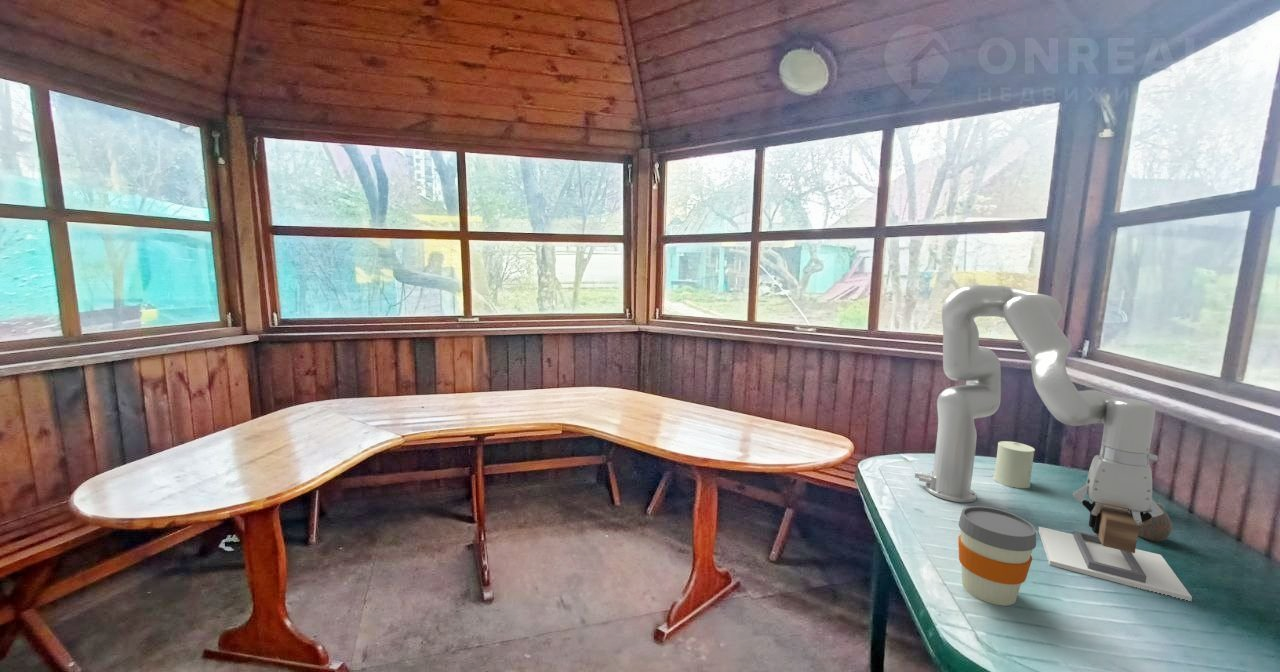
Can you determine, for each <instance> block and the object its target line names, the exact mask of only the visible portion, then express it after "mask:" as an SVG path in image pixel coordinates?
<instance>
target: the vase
mask: <svg viewBox="0 0 1280 672" xmlns="http://www.w3.org/2000/svg"><path fill="white" fill-rule="evenodd" d="M1156 503H1157V505H1158V506H1159V507H1160V508H1161V510H1162V511H1163V512H1164V513H1163V514H1162V515H1159V516H1156V517H1152V518H1151V519H1149V520H1146V521H1144V522H1142V524H1140V525H1139V530H1138V536H1139V537H1141V538H1142V539H1144V538H1145V540H1147V541H1151V542H1156V541H1157V542H1156V543H1158V542H1163V541H1165V540H1167V539H1168V538H1169V536H1170V535H1171V533H1172V531H1173V522H1172V520H1171V518H1170V515H1168V513H1167V512H1166V511H1165V509H1164V508H1163V505H1162V504H1161V503H1159V502H1156ZM1150 509H1151V507H1150Z"/></svg>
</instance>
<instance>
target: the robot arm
mask: <svg viewBox="0 0 1280 672" xmlns="http://www.w3.org/2000/svg"><path fill="white" fill-rule="evenodd" d="M1062 316H1063V308H1062V305H1061V303H1060V302H1059V301H1058V300H1057V299H1055V298H1054V297H1053V296H1051V295H1047V294H1042V293H1038V292H1032V291H1028V290H1023V289H1019V288H1014V287H1010V286H1005V285H988V284H987V285H986V284H985V285H984V284H983V285H982V284H977V285H976V284H975V285H966V286H963V287H960V288H957V289H955V290H954V291H952V292H951V293H950V294H949V295H948V296H947V297H946V298H945V300H944V302H943V305H942V308H941V320H942V321H941V322H942V368H943V373H944V375H945V376H946V377H947V378H948V379H949V380H952V381H955V382H965V384H963V385H954V386H950V387H947V388H946V389H944V390H942V391H941V392H940V393H939V395H938V397H937V401H936V409H937V422H938V423H937V434H936V442H935V452H934V462H933V470H932V471H931V472H927V473H923V472H920V471H915V475H914V478H915V479H918V481H919V482H925V490H926V491H927V492H928V493H930V495H933V496H934V497H938V498H939V499H943V500H947V501H950V502H955V503H972V502H974V501H976V500H977V493H976V492H975V491H974V489H973V490H972V480H973V473H974V464H975V457H976V447H977V440H978V439H977V436H978V435H977V429H976V424H975V420H976V419H979V418H980V419H981V418H987V417H990V416H992V415H994V414H996V412H998V410H999V408H1000V405H1001V400H1002V399H1001V398H1002V395H1001V393H1002V391H1001V390H1002V379H1001V378H1002V375H1001V374H1002V373H1001V372H1002V370H1001V369H1002V368H1001V362H1000V359H999V357H998V355H997V354H996V353H995V352H994V351H993V350H992V349H990V348H988V347H986V346H985V347H984V346H980V344H979V343H980V342H979V341H980V340H979V339H980V333H979V329H978V327H977V324H976V322H975V318H978V317H999V318H1003V319H1005V322H1006V323H1007V325H1008V326H1009V327H1010V329H1011V332H1012V333H1013V334H1014V336H1015V337H1016V338H1017V341H1018V342H1019V343H1020V345H1021V346H1022V348H1023V349H1024V351H1025V352H1026V354H1027V356H1028V357H1029V359H1030V361H1031V367H1030V369H1031V376H1032V382H1033V386H1034V388H1035V390H1036V392H1037V394H1038V395H1039V397H1040V399H1041V401H1042V402H1043V404H1044V406H1045V407H1046V409H1047V410H1048V411H1049V413H1050V414H1051V415H1052V416H1053V417H1054V418H1055V419H1056V420H1057V421H1058V422H1060V423H1062V424H1064V425H1066V426H1071V427H1078V426H1079V427H1080V426H1086V425H1094V424H1103V429H1102V430H1103V431H1102V438H1101V445H1100V449H1099V450H1100V451H1099V455H1098V454H1096V455H1094V456H1093V459H1092V461H1091V464H1090V467H1089V470H1088V473H1087V477H1086V478H1087V479H1086V481H1085V484H1084V485H1083V486H1081V487H1080V488H1078V489H1076V490H1074V491H1073V492H1072V496H1073V497H1074V498H1075V499H1076V500H1077V501H1078V502H1080V503H1081V504H1082V506H1084V508H1085V509H1086V510H1088V512H1090V513H1089V517H1088V519H1089V520H1088V527H1090V528H1091V530H1092V531H1093V533H1094V534H1096V533H1098V532H1099V525H1100V519H1101V518H1100V516H1099V514H1100V513H1099V512H1100V511H1101V509H1102V507H1103V506H1104V505H1108V506H1113V507H1118V508H1124V509H1129V510H1128V512H1129V513H1130V515H1131V516H1132V517H1133V519H1134V520H1135V521H1136V523H1137V524H1138V525H1140V524H1142V522H1144V521H1146V520H1149V519H1151V518H1152V517H1156V516H1159V515H1162V514H1163V513H1164V512H1163V511H1162V510H1161V508H1160V507H1159V506H1158V505H1157V503H1158V502H1156V501H1155V500H1154V499H1153V472H1152V467H1151V465H1150V462H1151V463H1152V462H1156V463H1157V462H1158V460H1159V457H1158V455H1156V454H1153V453H1151V452H1150V450H1151V444H1152V443H1151V442H1152V437H1153V430H1154V425H1155V418H1156V410H1157V409H1156V408H1155V405H1153V404H1152V403H1150V402H1148V401H1145V400H1140V399H1135V398H1127V397H1121V396H1117V395H1114V394H1111V393H1108V392H1104V391H1101V390H1095V389H1088V390H1087V389H1086V390H1078V389H1077V387H1076V386H1075V385H1074V382H1073V381H1072V379H1071V378H1070V376H1069V374H1068V371H1067V368H1066V360H1067V357H1068V355H1069V353H1070V351H1071V350H1072V343H1071V342H1070V340H1069V339H1068V337H1067V336H1066V334H1065V333H1064V332H1063V330H1062V329H1061V327H1060V326H1059V325H1058V322H1059V321H1060V320H1061V319H1062ZM1085 495H1088V498H1089V500H1090V501H1091V502H1090V501H1089V500H1088V499H1087V498H1086V497H1085ZM1150 507H1151V509H1150Z"/></svg>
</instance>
